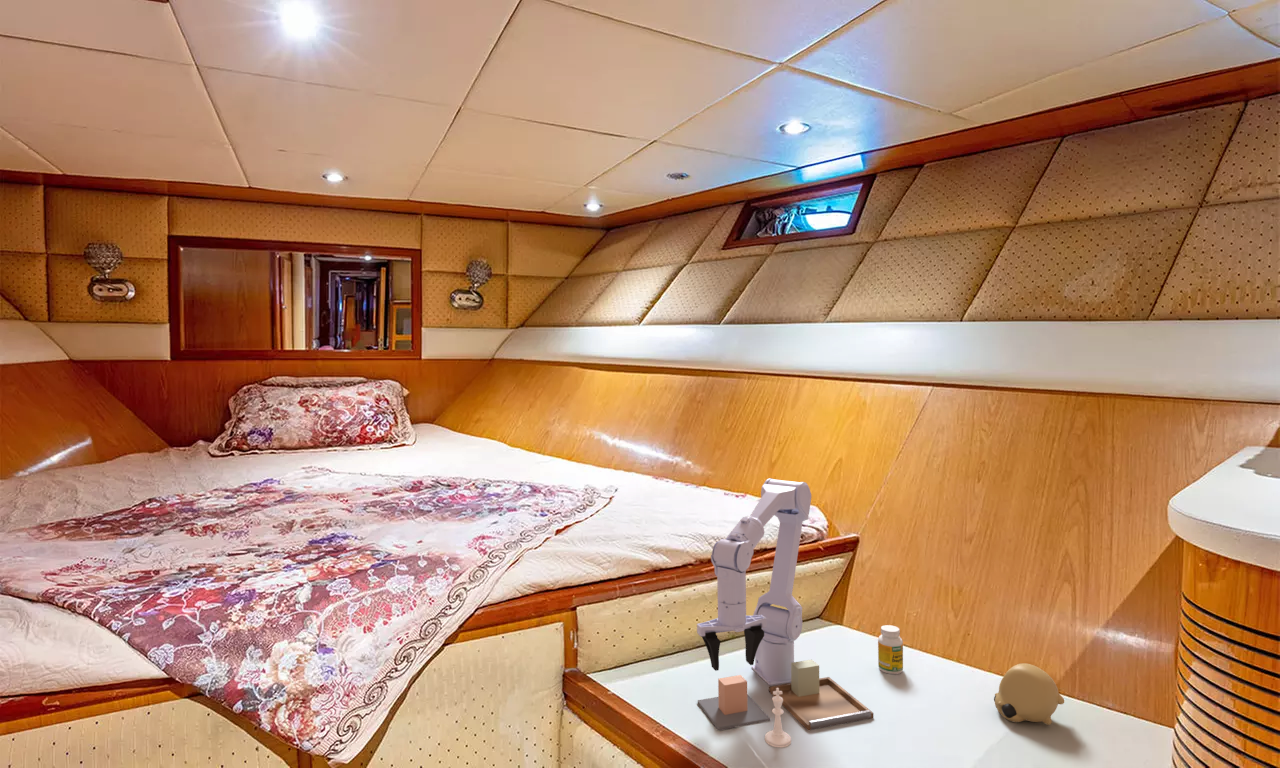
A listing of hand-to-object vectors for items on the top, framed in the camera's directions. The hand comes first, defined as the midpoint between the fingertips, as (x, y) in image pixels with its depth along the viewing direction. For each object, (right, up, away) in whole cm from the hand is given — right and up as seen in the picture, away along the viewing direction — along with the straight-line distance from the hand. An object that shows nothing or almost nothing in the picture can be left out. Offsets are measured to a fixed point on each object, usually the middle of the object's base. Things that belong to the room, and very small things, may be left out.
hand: (732, 665), depth 136 cm
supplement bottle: (+39, -9, +18) cm, 43 cm away
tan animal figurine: (+57, -9, -4) cm, 58 cm away
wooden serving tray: (+18, -9, +2) cm, 20 cm away
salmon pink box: (0, -9, 0) cm, 9 cm away
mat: (0, -9, 0) cm, 9 cm away
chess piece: (+7, -10, -11) cm, 16 cm away
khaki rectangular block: (+17, -9, +7) cm, 20 cm away
